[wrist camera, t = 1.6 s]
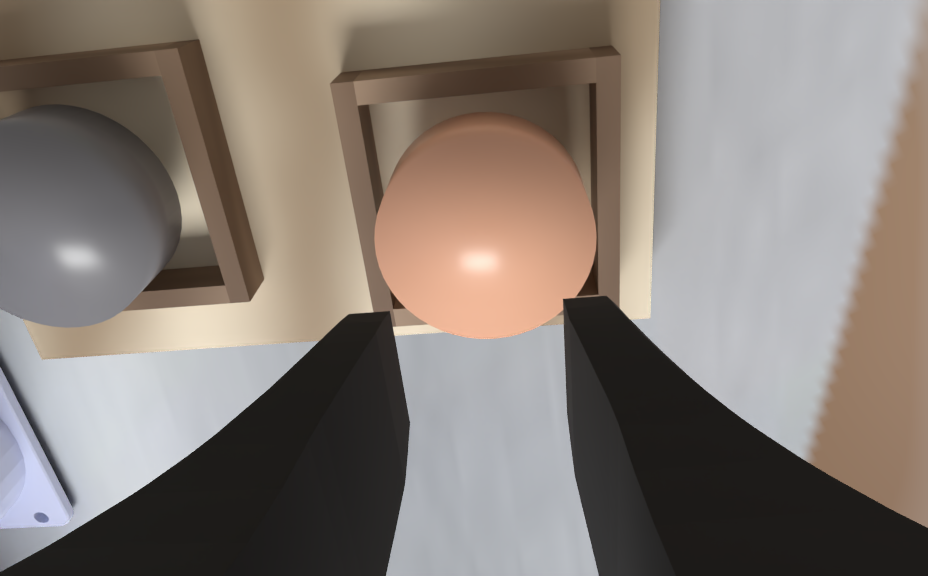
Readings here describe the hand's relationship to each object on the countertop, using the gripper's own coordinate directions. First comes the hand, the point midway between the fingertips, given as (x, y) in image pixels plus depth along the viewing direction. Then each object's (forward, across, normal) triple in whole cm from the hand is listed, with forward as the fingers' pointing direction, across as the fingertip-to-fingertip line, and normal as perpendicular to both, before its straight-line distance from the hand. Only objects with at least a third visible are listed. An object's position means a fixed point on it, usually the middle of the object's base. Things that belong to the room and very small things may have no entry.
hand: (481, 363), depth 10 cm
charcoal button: (+6, +9, -1) cm, 11 cm away
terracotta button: (+6, 0, 0) cm, 6 cm away
